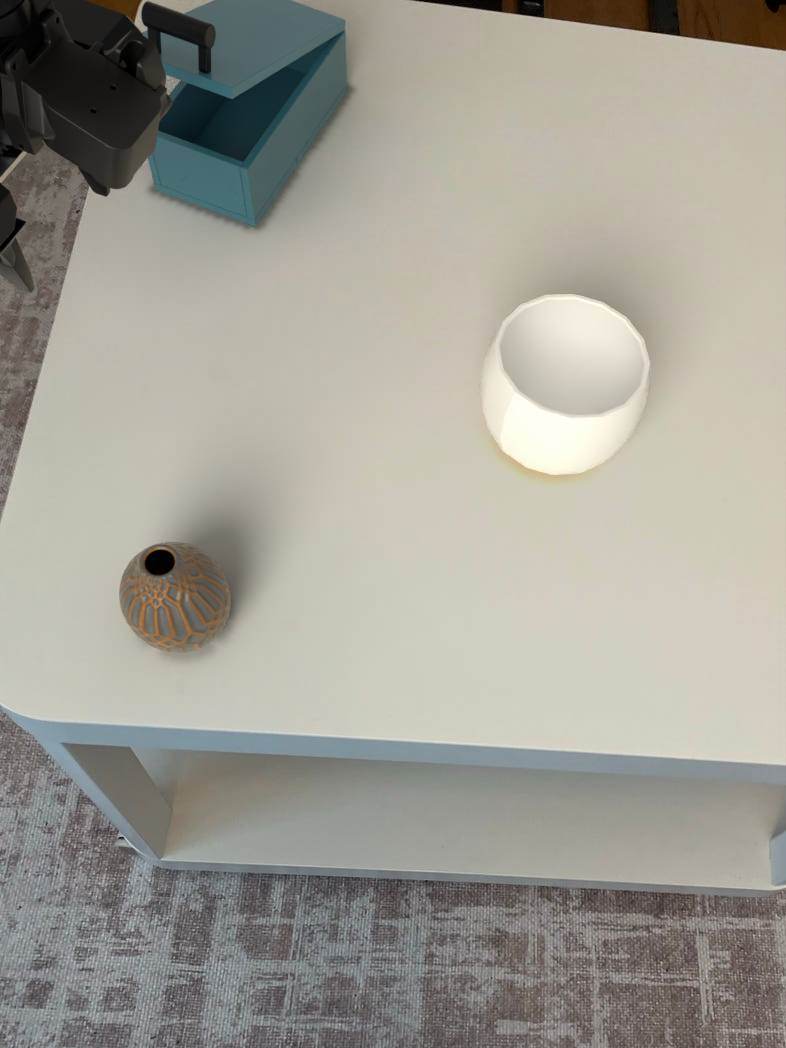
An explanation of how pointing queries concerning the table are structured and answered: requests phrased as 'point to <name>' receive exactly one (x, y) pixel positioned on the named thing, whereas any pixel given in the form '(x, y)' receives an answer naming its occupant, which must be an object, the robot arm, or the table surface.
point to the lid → (235, 40)
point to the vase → (175, 597)
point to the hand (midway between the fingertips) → (65, 239)
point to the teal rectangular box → (247, 134)
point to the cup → (564, 383)
